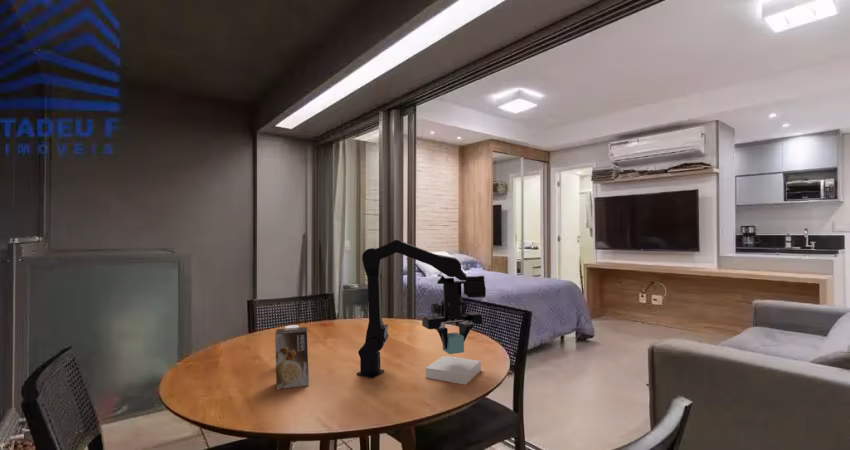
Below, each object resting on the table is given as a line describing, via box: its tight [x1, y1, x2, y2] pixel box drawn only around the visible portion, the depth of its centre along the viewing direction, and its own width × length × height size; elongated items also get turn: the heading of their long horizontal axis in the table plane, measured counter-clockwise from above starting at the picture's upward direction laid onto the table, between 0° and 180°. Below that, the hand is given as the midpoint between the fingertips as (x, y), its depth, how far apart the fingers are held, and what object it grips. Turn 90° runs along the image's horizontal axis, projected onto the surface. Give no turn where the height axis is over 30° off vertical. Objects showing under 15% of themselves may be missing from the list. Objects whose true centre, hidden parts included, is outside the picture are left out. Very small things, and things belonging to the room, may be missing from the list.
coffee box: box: [274, 326, 310, 390], centre depth 118 cm, size 9×6×16 cm
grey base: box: [425, 355, 482, 385], centre depth 123 cm, size 13×13×3 cm
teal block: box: [442, 332, 465, 355], centre depth 124 cm, size 5×5×5 cm
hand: (453, 347), depth 124 cm, fingers closed on teal block, 5 cm apart
